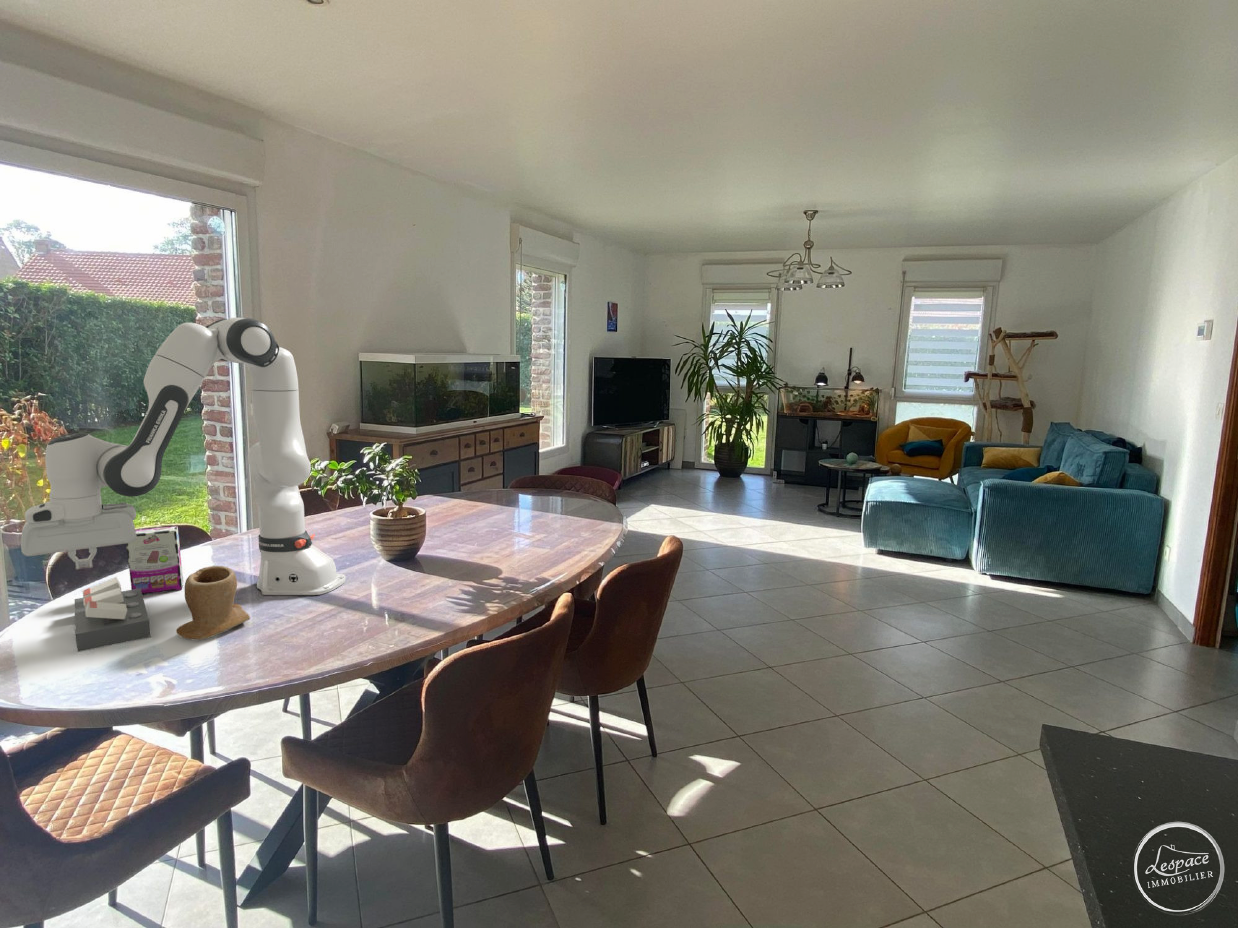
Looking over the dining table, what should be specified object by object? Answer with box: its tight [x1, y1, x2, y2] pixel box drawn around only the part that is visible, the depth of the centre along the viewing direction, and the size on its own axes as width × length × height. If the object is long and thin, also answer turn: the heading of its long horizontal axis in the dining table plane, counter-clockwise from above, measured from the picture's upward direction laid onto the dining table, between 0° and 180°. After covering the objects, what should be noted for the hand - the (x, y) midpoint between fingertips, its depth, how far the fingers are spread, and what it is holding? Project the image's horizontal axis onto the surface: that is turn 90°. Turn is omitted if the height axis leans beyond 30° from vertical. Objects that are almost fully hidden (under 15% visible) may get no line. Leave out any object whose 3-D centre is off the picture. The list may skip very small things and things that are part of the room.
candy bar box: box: [125, 525, 185, 596], centre depth 181 cm, size 11×5×16 cm, turn 117°
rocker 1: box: [82, 576, 122, 598], centre depth 164 cm, size 7×4×2 cm, turn 127°
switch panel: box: [74, 588, 152, 652], centre depth 160 cm, size 13×24×5 cm, turn 38°
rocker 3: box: [85, 601, 127, 619], centre depth 153 cm, size 7×4×2 cm, turn 128°
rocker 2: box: [83, 588, 124, 610], centre depth 158 cm, size 7×4×2 cm, turn 128°
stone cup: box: [175, 565, 251, 641], centre depth 158 cm, size 15×12×15 cm
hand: (84, 567), depth 155 cm, fingers closed
